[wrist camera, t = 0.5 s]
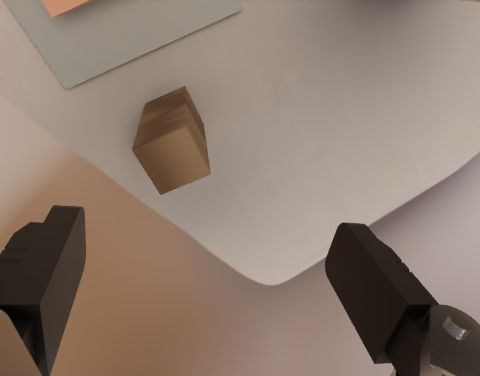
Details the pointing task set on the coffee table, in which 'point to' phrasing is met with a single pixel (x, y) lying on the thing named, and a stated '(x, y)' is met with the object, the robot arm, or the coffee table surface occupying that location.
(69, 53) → the socket block
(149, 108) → the walnut peg
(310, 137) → the coffee table surface
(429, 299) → the robot arm
